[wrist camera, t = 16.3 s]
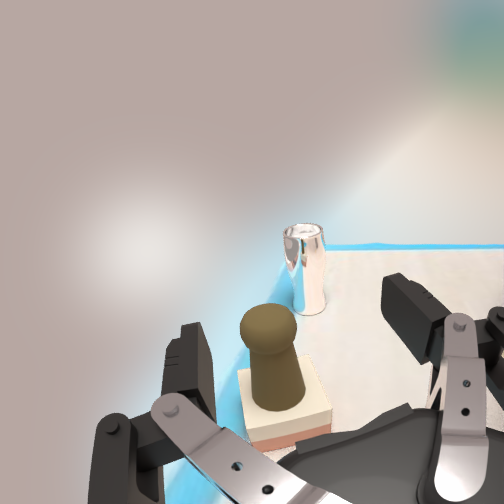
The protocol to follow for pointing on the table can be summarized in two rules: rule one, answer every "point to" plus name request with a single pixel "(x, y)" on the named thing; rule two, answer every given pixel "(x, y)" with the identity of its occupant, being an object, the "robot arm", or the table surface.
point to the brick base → (287, 413)
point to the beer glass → (306, 266)
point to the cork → (273, 357)
